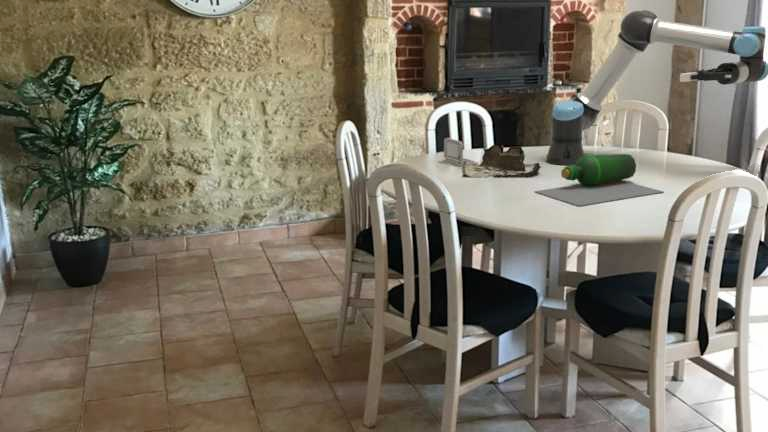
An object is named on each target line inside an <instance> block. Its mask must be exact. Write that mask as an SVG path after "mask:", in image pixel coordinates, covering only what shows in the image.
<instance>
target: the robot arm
mask: <svg viewBox="0 0 768 432" xmlns="http://www.w3.org/2000/svg"><path fill="white" fill-rule="evenodd" d="M766 35H767V34H766V28H765V26H745V27H743V28H742V30H741V31H734V30H730V29H729V30H727V29H722V28H721V29H720V28H715V27H707V26H702V25H701V26H700V25H695V24H687V23H680V22H674V21H673V22H672V21H667V20H662V19H661V18H660V16H658V15H657V14H656V13H655V12H653V11H651V10H646V9H645V10H644V9H642V10H635V11H632V12H631V11H630V12H629V13H627V14H626V15H625V16H624V17H623V19H622V21H621V23H620V32H619V33H618V35H617V40H618V41H617V43H616V45H615V46H614V48H612V50H611V52H610V53H609V54H608V56H606V58H605V60H604V61H603V63H602V64H601V66H600V67H599V69H598V70H597V72H596V73H595V74H594V75H593V77H592V79H591V80H590V81H589V83H588V85H587V86H586V87H585V89H584V90H583V91H582V92H578V93H577V94H576V95H575V97H574V98H573V99H572V100H567V101H560V102H557V103H556V104H554V105H553V108H552V113H551V114H552V121H551V122H552V123H551V141H550V142H551V143H550V145H549V148H548V152H547V154H546V158H545V159H546V161H545V162H547V163H549V164H551V165H552V164H553V165H559V166H569V165H575V164H576V162H577V161H578V159H579V158H581V157H583V156H585V154H584V148H583V143H582V140H583V139H582V138H583V131H585V130H588V129H590V128H591V127H592V126H593V125H594V124H595V122H596V121H597V117H598V115H599V113H600V112H601V111H602V109H603V108H602V103H603V101H605V99H606V98H607V97H608V95H609V93H610V92H611V90H612V89H613V87H614V86H615V85H616V84H617V82H618V81H619V79H621V77H622V75H623V74H624V73H625V71H626V69H628V67H629V66H630V64H631V63H632V62H633V60H634V58H635V57H636V56H637V54H640V53H644V51H645V50H646V49H647V48H648V46H649V45H650V44H651V45H653V44H655V43H662V44H667V45H675V46H681V47H682V46H683V47H688V48H694V49H700V50H706V51H712V52H713V51H714V52H719V53H726V54H731V55H737V56H739V61H734V62H724V63H720V64H719V65H717V67H716V68H715V67H714V68H711V69H700V70H695V71H694V70H693V71H689V72H685V73H684V72H683V73H680V75H679V82H681V83H686V82H692V83H695V82H696V81H700V82H701V81H703V82H707V81H711V82H712V81H716V82H717V83H718V84H720V85H723V86H724V85H733V84H734V86H737V85H738V84H743V83H744V84H746V83H756V82H760V81H763V80H765V79H766V78H767V77H768V62H766V61H765V60H764V54H765V53H764V52H765V42H766V37H767V36H766Z"/></svg>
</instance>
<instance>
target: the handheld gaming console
mask: <svg viewBox="0 0 768 432" xmlns="http://www.w3.org/2000/svg"><path fill="white" fill-rule="evenodd" d="M463 149H464V146H463V142H462V141H460V140H457V139H453V138H450V137H446V138H444V140H443V159H442V162H444V163H447V164H449V165H453V166H456V167H458V168H463V162H464V161H466V163H467V164H469V165H479V162H478V161H475V160H473V159H469V158H465V157H464V155H463V153H464V152H463V151H464V150H463Z"/></svg>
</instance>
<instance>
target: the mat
mask: <svg viewBox="0 0 768 432" xmlns="http://www.w3.org/2000/svg"><path fill="white" fill-rule="evenodd" d="M534 193H536V194H538V195H541V196H544V197H548V198H551V199H552V200H556V201H560V202H563V203H565V204H570V205H572V206H575V207H578V208H579V207H587V206H591V205H598V204H604V203H608V202H609V203H610V202H611V203H612V202H615V201H621V200H628V199H634V198H639V197H646V196H652V195H658V194H659V195H660V194H664V190H659V189H656V188H652V187H648V186H645V185H640V184H635V183H632V182H628V181H625V180H618V181H613V182H608V183H603V184H598V185H593V186H584V185H582V184H573V185H568V186H560V187H555V188H547V189H540V190H535V191H534Z"/></svg>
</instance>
